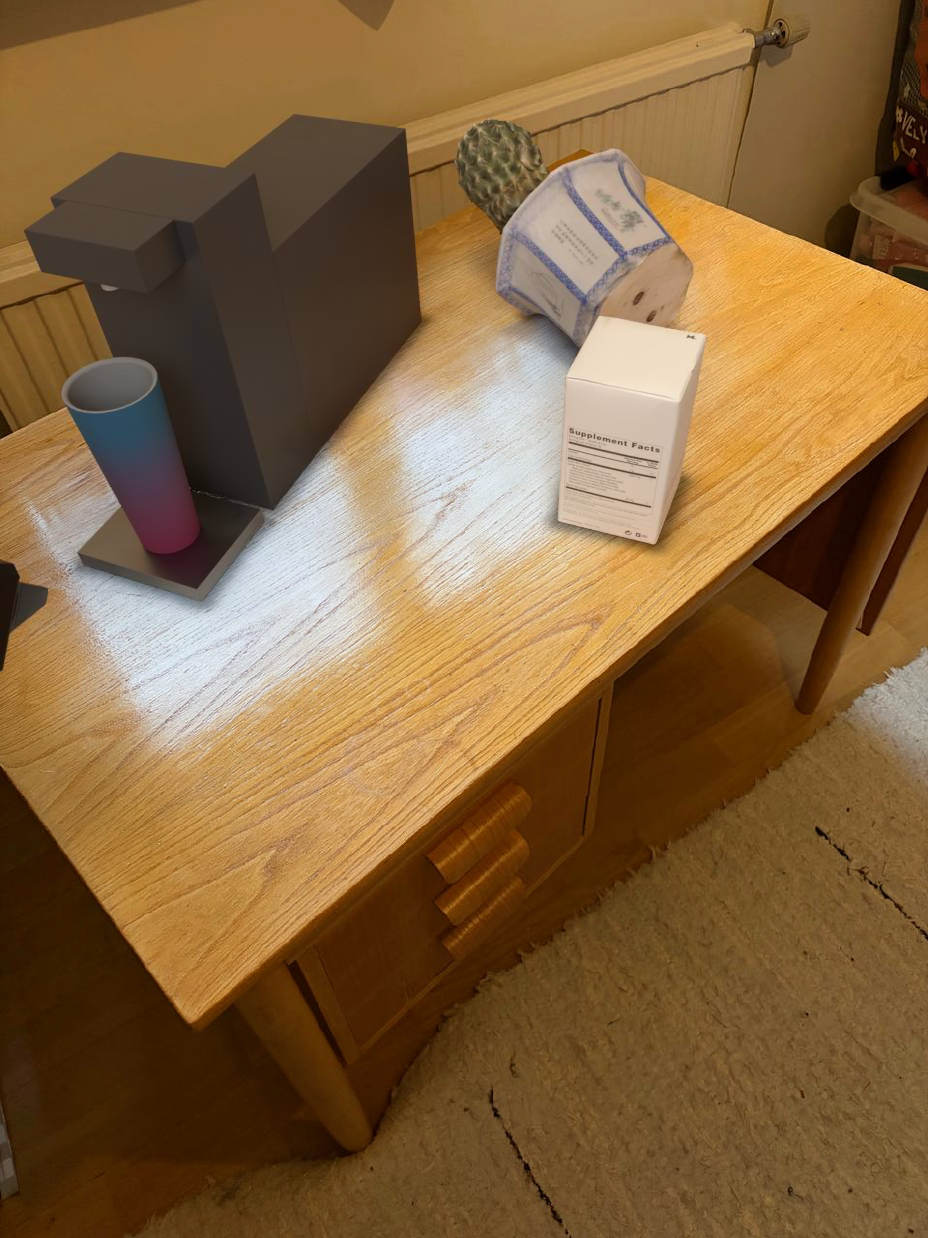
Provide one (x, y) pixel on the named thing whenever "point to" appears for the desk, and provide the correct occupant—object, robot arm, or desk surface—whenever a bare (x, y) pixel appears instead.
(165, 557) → the grey tray
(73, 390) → the cup
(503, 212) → the potted plant
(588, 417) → the white product box
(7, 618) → the robot arm
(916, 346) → the desk surface
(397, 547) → the desk surface
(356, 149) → the coffee maker
